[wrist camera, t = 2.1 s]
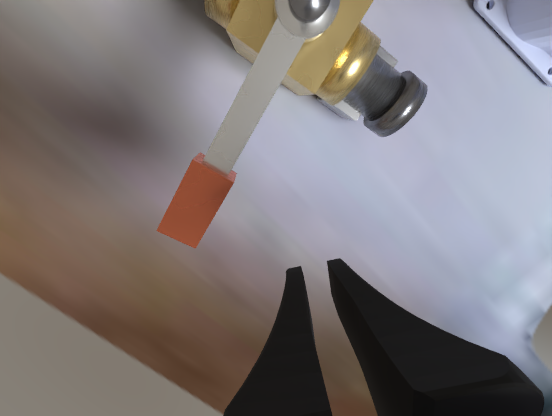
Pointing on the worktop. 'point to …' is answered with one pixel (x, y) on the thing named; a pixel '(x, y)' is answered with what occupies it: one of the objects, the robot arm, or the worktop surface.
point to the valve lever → (243, 118)
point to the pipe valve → (332, 63)
